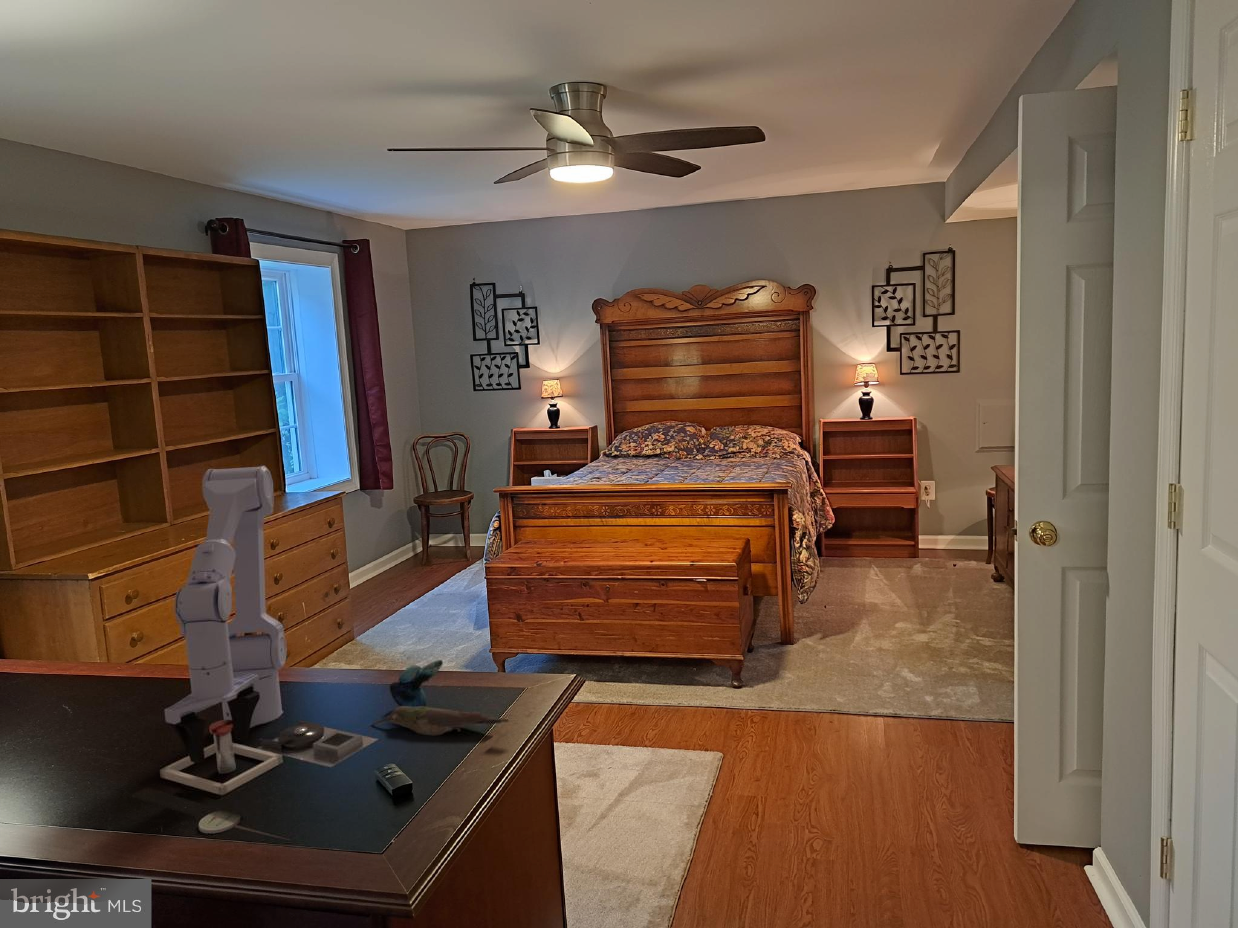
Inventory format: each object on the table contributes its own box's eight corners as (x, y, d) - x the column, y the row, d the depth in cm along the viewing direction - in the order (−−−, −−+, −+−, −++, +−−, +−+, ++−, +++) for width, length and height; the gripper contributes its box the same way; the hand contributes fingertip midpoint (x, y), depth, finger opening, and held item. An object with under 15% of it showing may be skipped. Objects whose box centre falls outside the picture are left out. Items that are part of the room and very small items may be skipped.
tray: (161, 784, 129) (159, 769, 129) (223, 753, 139) (221, 739, 138) (223, 802, 123) (221, 787, 123) (283, 769, 132) (281, 755, 132)
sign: (274, 848, 110) (189, 825, 116) (275, 855, 110) (190, 831, 117) (304, 827, 115) (221, 806, 121) (305, 833, 115) (222, 811, 121)
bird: (515, 734, 141) (513, 705, 140) (503, 749, 136) (501, 718, 135) (375, 724, 147) (373, 696, 146) (359, 738, 142) (356, 708, 141)
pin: (211, 777, 130) (204, 727, 129) (227, 766, 133) (221, 718, 132) (227, 780, 129) (221, 730, 127) (244, 769, 132) (237, 720, 130)
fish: (441, 721, 147) (437, 664, 146) (386, 718, 149) (381, 662, 148) (451, 710, 151) (447, 655, 150) (397, 708, 153) (393, 653, 152)
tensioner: (257, 755, 137) (255, 737, 137) (306, 729, 146) (304, 712, 146) (331, 774, 130) (329, 755, 130) (378, 746, 139) (377, 728, 138)
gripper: (183, 684, 120) (194, 777, 122) (269, 650, 133) (278, 734, 135) (151, 677, 124) (162, 767, 125) (237, 644, 136) (246, 727, 138)
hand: (220, 750), depth 130 cm, fingers open, 7 cm apart
